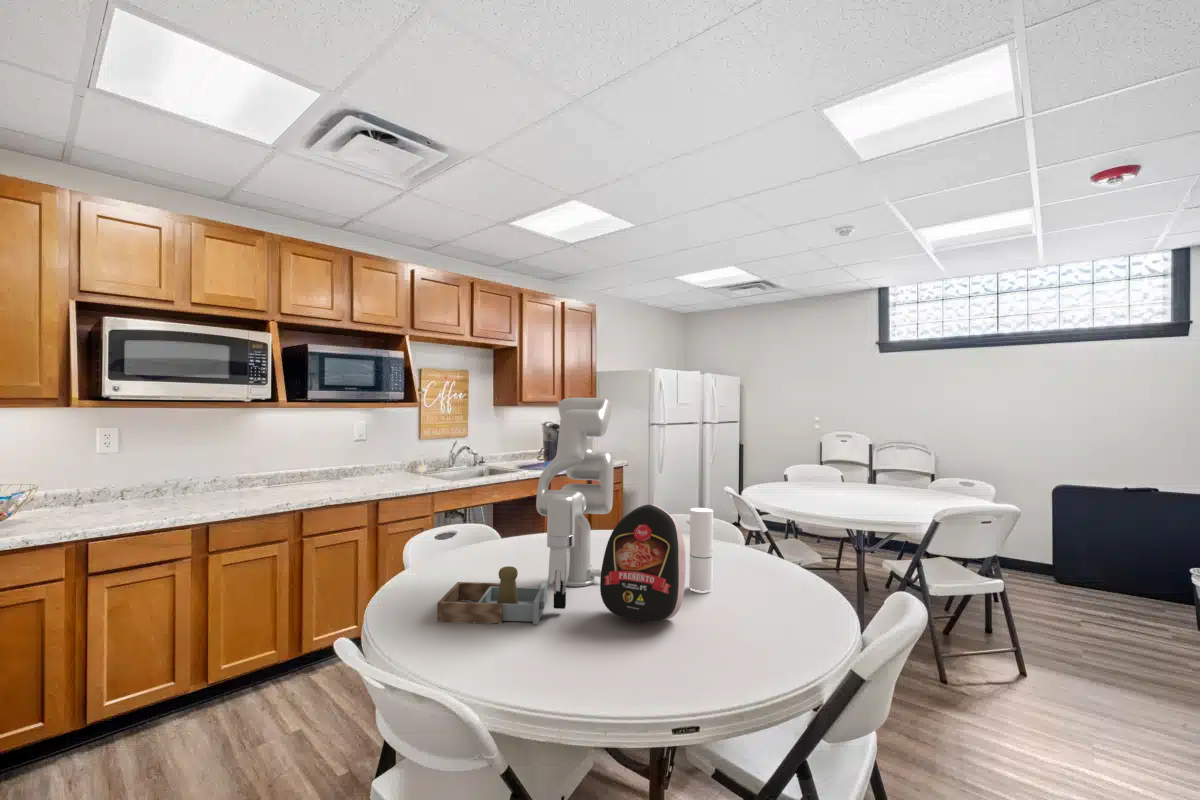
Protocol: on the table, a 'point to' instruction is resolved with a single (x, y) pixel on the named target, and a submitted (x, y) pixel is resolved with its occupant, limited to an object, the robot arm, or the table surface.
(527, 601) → the tray
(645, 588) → the packaged food
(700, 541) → the cylindrical container
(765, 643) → the table surface
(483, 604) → the frame
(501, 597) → the cork
